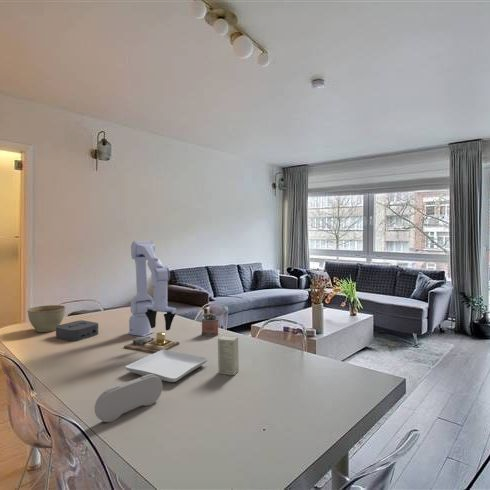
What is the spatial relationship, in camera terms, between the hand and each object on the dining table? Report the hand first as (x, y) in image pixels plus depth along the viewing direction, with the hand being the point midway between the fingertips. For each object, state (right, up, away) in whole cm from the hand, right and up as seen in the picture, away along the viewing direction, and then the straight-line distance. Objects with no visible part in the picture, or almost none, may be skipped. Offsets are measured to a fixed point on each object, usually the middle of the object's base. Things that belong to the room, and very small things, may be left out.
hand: (160, 328), depth 149 cm
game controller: (+5, -10, -53) cm, 54 cm away
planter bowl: (-62, -7, +25) cm, 67 cm away
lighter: (+19, -8, +19) cm, 28 cm away
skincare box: (+30, -9, -26) cm, 40 cm away
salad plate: (+9, -9, -24) cm, 27 cm away
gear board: (-4, -8, +2) cm, 9 cm away
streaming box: (-42, -7, +16) cm, 46 cm away
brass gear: (0, -7, 0) cm, 7 cm away
